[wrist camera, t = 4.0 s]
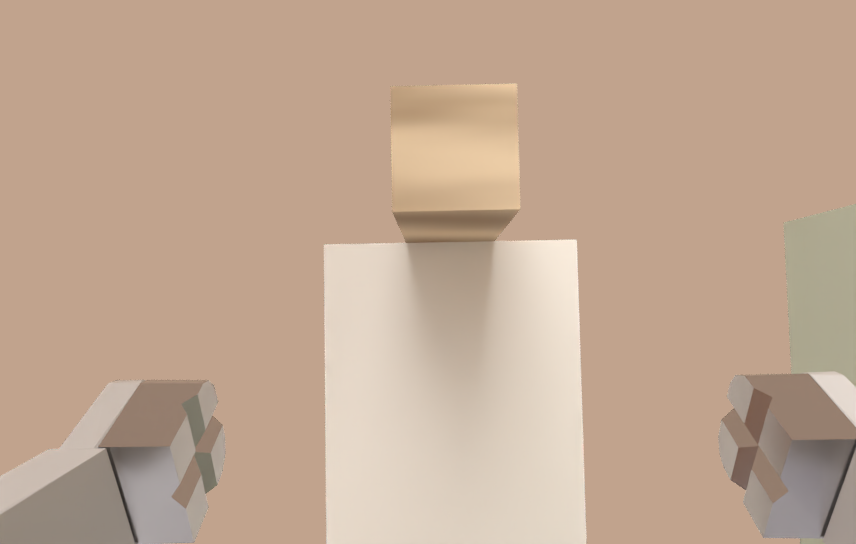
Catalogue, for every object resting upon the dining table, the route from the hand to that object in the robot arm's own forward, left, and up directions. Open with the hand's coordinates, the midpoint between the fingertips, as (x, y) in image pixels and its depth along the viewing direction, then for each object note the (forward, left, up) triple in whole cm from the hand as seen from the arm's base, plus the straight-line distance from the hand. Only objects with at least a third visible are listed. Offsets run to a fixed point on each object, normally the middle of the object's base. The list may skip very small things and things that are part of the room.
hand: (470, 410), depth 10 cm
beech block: (-9, +16, +4) cm, 19 cm away
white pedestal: (-11, +18, -22) cm, 30 cm away
